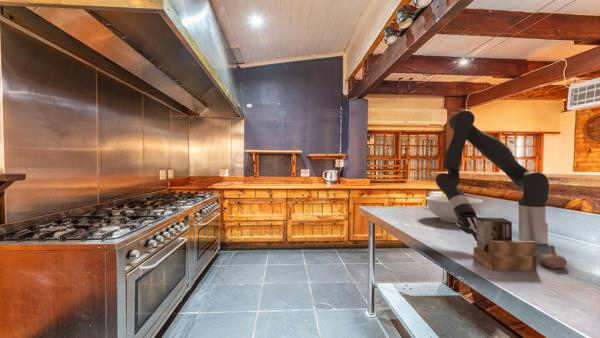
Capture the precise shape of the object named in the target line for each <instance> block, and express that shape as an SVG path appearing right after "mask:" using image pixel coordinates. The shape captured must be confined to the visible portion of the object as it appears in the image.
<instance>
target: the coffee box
mask: <svg viewBox="0 0 600 338" xmlns="http://www.w3.org/2000/svg"><path fill="white" fill-rule="evenodd" d="M512 222H513V221H509V220H508V219H506V218H504V217H502V218H501V217H500V218H499V217H478V216H477V241H476V247H478V248H480V249H482V250H484V251H487V252H489V241H513V231H512V230H513V228H512V227H513V225H512V224H513V223H512Z"/></svg>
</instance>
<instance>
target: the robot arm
mask: <svg viewBox="0 0 600 338" xmlns="http://www.w3.org/2000/svg"><path fill="white" fill-rule="evenodd" d="M474 122H475V115H474V114H473V112H472V111H470V110H465V109H464V110H459V112H456V113H455V114H453V115H452V116H450V118H449V120H448V124H449V127H450V129H452V130H453V131H454V132H453V134H452V137H451V138H452V139H451V141H450V143H449V145H448V147H447V150H446V152H445V154H444V158H443V163H442V168H443V169H445V170H446V171H447V172H445V173H444V172H440V173H438V174H437V175H436V177H435V184H436V186H437V187H438V189H440V191H441V192H442V193H443V194H444V196H447V198H448V200H449V202H450V204H451V207H452V209H453V211H454V213H455V215H456V217H457V218H458V222H457V223H455V224H454V225H455V226H456V227H457V228H459V230H461V231H462V232H464V233H466V234H467V235H472V236H473V238H474V240H475V242H477V217H478V216H477V215H476V212H475V211H474V209H473V207H472V206H471V204H470V202H469V201H468V199H467V198H466V197H467V196H465V193H464V192H463V190H462V188H460V187H458V186H459V183H460V169H459V168H460V163H461V161H462V156H463V151H464V148H465V144H466V142H467V141H468V142H469V144H470V145H472V146H473V147H474V148H475V149H476V150H478V151H479V152H480V153H481V155H483V156H484V158H486V159H487V160H488V161H490V162H491V163H492V164H494V166H496V167H497V168H498V169H500V170H501V171H502V172H503V173H504V174H505V175H507V177H508V178H509V179H510V180H511V181H512V182H513V183H514V185H516V187H518V188H519V189H520V190H523V192H522V196H521V197H520V198H519V199H518V205H517V206H518V215H517V216H518V229H517V230H518V233H517V234H518V240H517V241H535V242H537V245H546V244H548V235H549V234H548V231H549V230H548V229H549V228H548V227H549V226H548V225H549V224H548V222H547V221H546V205H547V202H548V199H549V190H550V189H549V188H550V183H549V179H548V177H547V176H546V175H545V174H544V173H542V172H538V171H537V172H536V171H530V170H529V169H526V167H524V166H522V165H521V164H520V163H519V162H518V160H516V158H515V156H514V154H513V152H512V150H510V148H509V147H508V146H506V144H504V143H503V142H502V141H500V140H499V139H498V138H496V137H494V136H492V135H490V134H489V133H486V132H483V131H482V130H480V129H479V128H477V127H476V126H475V125H474Z"/></svg>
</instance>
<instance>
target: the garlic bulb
mask: <svg viewBox="0 0 600 338" xmlns="http://www.w3.org/2000/svg"><path fill="white" fill-rule="evenodd" d="M549 248H550V253H549V254H548V253H544V254H541V255H540V256H539V261H540V263H541V264H543V265H544V266H546V267H547V268H549V269H552V270H554V269H562V268H564V267H567V263H568V261H567V260H566V258H565V257H564V256H563V255H560V254H557V252H556V249H555V246H554V244H550V247H549Z"/></svg>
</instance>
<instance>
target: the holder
mask: <svg viewBox="0 0 600 338" xmlns="http://www.w3.org/2000/svg"><path fill="white" fill-rule="evenodd" d="M537 245H538V244H537V242H535V241H520V240H512V241H489V252H487V251H484V250H482V249H480V248H478V247H477V246H473V261H474V262H476V263H478V264H480V265H482V266H483V267H484V268H487V269H489V270H490V271H493V272H494V271H499V272H500V271H501V272H503V271H504V272H508V271H509V272H510V271H511V272H514V271H516V272H521V271H522V272H523V271H524V272H525V271H526V272H528V271H529V272H537V269H538V268H537V262H538V260H537V254H538V253H537V252H538V251H537V249H538V246H537Z"/></svg>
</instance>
